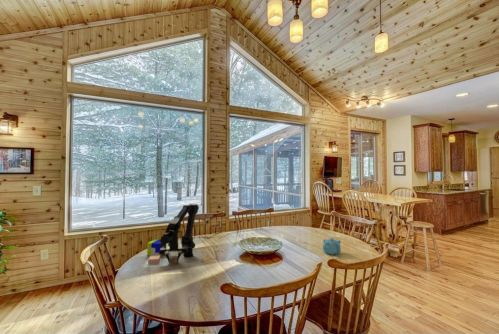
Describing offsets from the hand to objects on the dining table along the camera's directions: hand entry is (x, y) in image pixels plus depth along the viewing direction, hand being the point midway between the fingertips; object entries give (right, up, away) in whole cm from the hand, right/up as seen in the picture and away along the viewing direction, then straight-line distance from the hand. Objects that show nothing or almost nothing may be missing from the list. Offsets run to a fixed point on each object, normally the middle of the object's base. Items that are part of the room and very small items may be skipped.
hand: (173, 262), depth 167 cm
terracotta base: (-14, 0, +2) cm, 14 cm away
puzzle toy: (-19, -1, +19) cm, 26 cm away
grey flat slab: (-12, -1, +1) cm, 12 cm away
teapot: (+119, -3, +24) cm, 122 cm away
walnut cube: (0, -1, 0) cm, 1 cm away
